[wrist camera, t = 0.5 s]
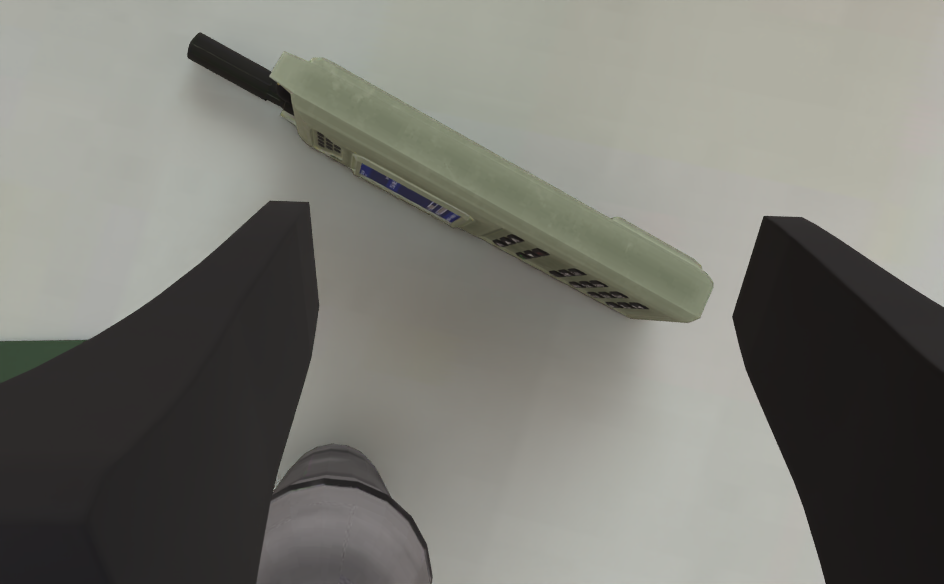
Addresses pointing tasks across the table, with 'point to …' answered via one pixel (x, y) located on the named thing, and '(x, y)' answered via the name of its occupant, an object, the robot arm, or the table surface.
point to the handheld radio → (470, 185)
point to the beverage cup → (339, 526)
